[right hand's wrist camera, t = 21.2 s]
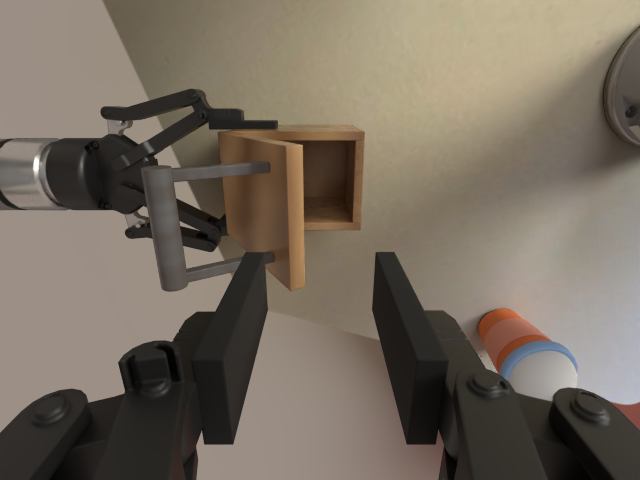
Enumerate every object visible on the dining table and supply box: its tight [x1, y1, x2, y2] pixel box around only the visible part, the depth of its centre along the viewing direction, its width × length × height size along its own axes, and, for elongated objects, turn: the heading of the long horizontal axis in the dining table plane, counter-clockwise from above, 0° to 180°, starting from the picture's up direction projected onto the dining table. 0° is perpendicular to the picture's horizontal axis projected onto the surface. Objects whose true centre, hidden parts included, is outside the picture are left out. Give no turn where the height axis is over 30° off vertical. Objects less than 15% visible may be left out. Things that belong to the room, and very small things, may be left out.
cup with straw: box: [478, 309, 577, 401], centre depth 45 cm, size 9×9×18 cm
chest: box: [226, 125, 365, 230], centre depth 39 cm, size 13×10×11 cm
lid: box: [141, 132, 305, 292], centre depth 26 cm, size 14×10×9 cm
